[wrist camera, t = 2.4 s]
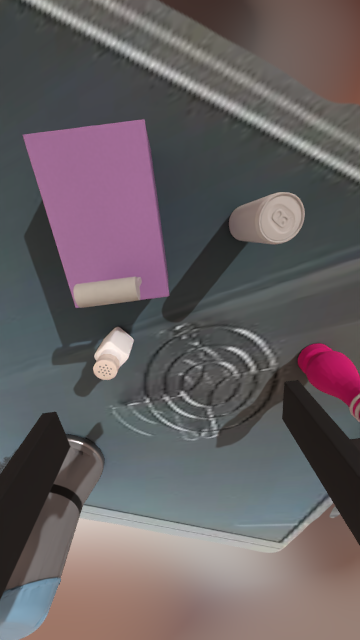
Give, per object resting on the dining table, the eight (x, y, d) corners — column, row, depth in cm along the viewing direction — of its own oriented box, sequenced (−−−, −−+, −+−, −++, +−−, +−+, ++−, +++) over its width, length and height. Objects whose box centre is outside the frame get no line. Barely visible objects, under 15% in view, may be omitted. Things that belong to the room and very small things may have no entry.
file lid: (169, 294, 29) (169, 311, 22) (78, 306, 29) (52, 326, 22) (145, 123, 22) (135, 79, 16) (27, 138, 22) (-28, 100, 16)
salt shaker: (102, 339, 39) (83, 370, 30) (118, 324, 38) (102, 351, 29) (120, 353, 40) (107, 387, 31) (135, 338, 39) (126, 370, 30)
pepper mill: (340, 355, 42) (475, 451, 24) (310, 380, 44) (414, 487, 25) (317, 333, 40) (445, 419, 22) (286, 360, 42) (381, 461, 24)
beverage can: (244, 247, 34) (280, 254, 23) (220, 226, 33) (247, 223, 22) (266, 220, 33) (316, 213, 22) (242, 197, 32) (283, 178, 21)
